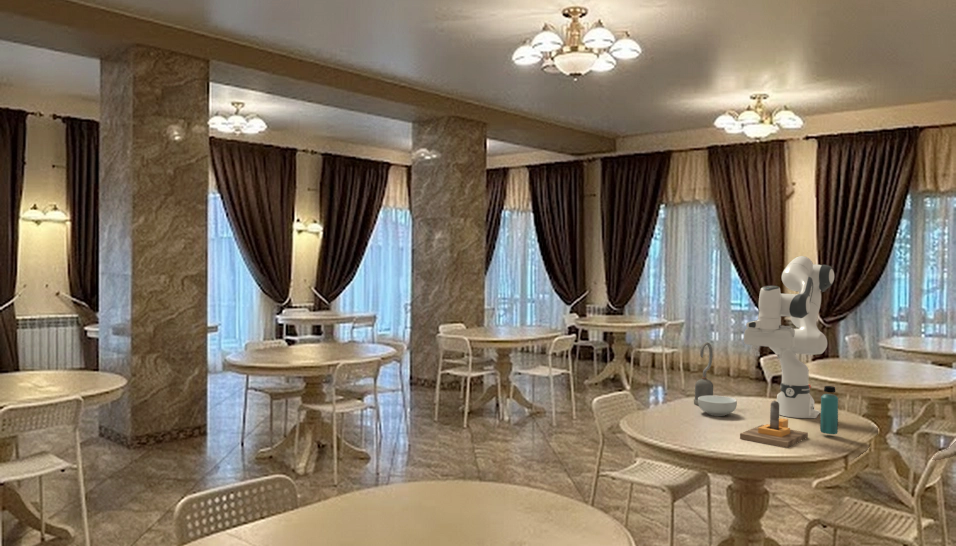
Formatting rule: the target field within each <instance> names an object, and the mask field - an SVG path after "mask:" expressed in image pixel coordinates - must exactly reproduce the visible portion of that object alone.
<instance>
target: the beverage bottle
mask: <svg viewBox="0 0 956 546" xmlns="http://www.w3.org/2000/svg"><path fill="white" fill-rule="evenodd" d="M823 391H824V392H825V393H824V394H822V395H821V396H820V414H819V415H820V416H819V418H820V420H819V429H820V430H819V431H820V432H821V433H822V434H827V435H837V434H838V432H839V397H838V396H837V395H835V394H833V393H836V387H835V386H832V385H825V386H824V387H823Z"/></svg>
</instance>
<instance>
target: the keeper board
mask: <svg viewBox="0 0 956 546" xmlns="http://www.w3.org/2000/svg"><path fill="white" fill-rule="evenodd" d="M769 413H770V416H769V418H770V419H769V425H770V429H775V430H779V419H780V415H779V403H778V402H777V400H774V401H772V402H770V412H769ZM764 425H765V424H761V425H758V426H755V427H753V428H751V429H748V430H746V431H743V432H740V433H739V439H740V440H745V441H750V442H756V443H762V444H764V445H765V444H766V445H771V446H776V447H782V448H789V447H793V446H794V445H796V444H798V443H800V442H802V441H804V440H806V439H808V438H809V437H808V436H809V433H808V432H807V431H801V430H800V431H799V430H796V429H795V430H794V429H790V433H789V434H787V435H785V436H783V437H778V436H773V435H767V434H762V433H758V428H759V427H762V426H764ZM805 438H806V439H805ZM803 439H804V440H803ZM801 440H802V441H801ZM799 441H800V442H799ZM797 442H798V443H797ZM795 443H796V444H795Z"/></svg>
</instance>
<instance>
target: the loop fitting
mask: <svg viewBox="0 0 956 546" xmlns="http://www.w3.org/2000/svg"><path fill="white" fill-rule="evenodd" d="M763 425H764V426H762V427H759V428H758V433H762V434H767V435H773V436H778V437H783V436H785V435H787V434H789V433H790V430H791V428H790V427H789V419H788V418H781V417H779V430H775V429H770V423H769V424H763Z"/></svg>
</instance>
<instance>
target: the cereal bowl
mask: <svg viewBox="0 0 956 546" xmlns="http://www.w3.org/2000/svg"><path fill="white" fill-rule="evenodd" d="M737 401H738V400H737V399H736V398H734V397H730V396H724V395H723V396H722V395H713V396H700V397H698V405H697V406H698V407H699V408H700V409H701V410H702V411H703V412H705V413H706V414H708V415H710V416H713V415H714V416H715V417H725V415H726V416H727V415H728V414H732V413H733V412H735V410H736V408H737V406H738V405H737Z"/></svg>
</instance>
